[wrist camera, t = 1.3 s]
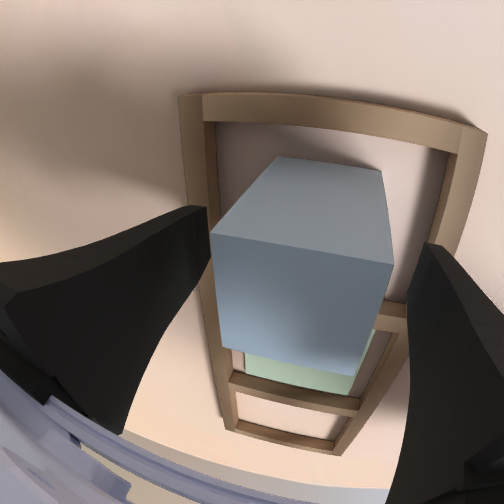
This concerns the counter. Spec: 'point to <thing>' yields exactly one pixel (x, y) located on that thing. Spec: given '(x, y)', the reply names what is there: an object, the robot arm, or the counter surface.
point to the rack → (391, 313)
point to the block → (304, 264)
